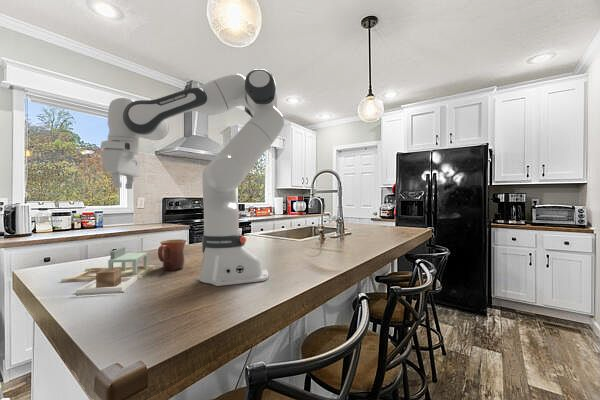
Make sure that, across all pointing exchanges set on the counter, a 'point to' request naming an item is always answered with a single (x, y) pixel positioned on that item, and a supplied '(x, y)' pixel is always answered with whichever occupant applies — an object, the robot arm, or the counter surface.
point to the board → (91, 272)
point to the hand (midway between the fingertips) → (123, 188)
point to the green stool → (127, 259)
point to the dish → (111, 290)
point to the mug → (172, 254)
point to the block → (108, 278)
